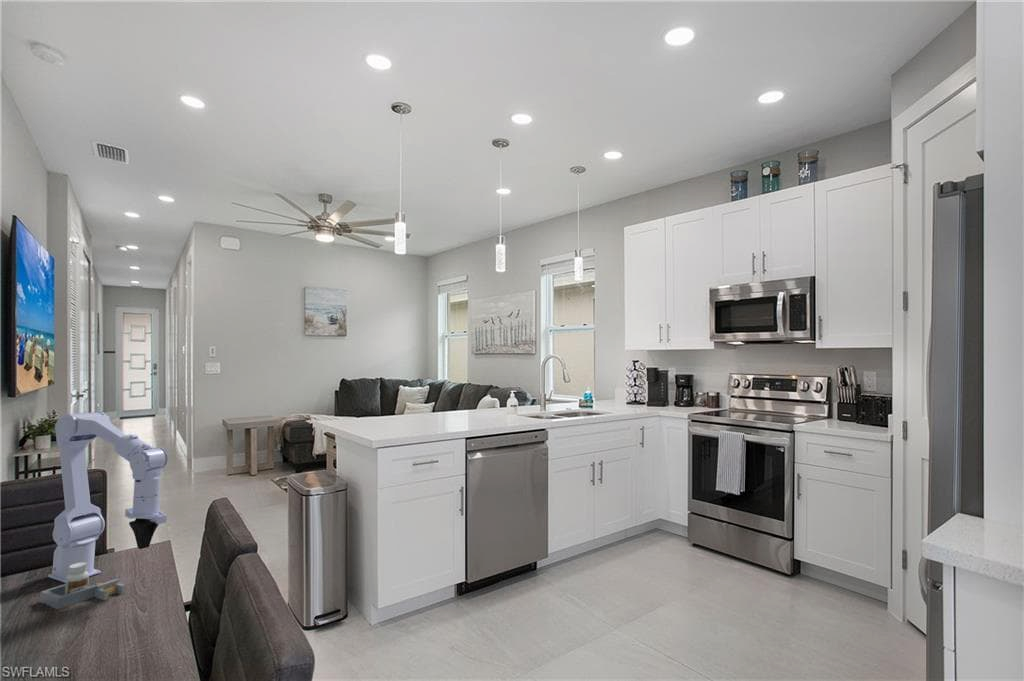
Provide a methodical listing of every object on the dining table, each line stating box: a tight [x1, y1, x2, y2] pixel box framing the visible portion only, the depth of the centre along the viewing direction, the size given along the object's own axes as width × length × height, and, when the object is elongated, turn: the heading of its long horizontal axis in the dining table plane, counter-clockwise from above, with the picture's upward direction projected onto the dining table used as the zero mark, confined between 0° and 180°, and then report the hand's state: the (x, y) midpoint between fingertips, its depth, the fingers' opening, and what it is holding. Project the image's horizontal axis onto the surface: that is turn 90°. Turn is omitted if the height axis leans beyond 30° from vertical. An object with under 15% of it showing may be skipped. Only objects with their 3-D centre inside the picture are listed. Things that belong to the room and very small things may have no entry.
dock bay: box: [39, 578, 126, 610], centre depth 125 cm, size 12×12×3 cm
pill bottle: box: [64, 563, 90, 595], centre depth 126 cm, size 4×4×8 cm
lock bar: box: [94, 581, 117, 597], centre depth 128 cm, size 6×2×2 cm, turn 66°
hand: (143, 547), depth 133 cm, fingers closed
